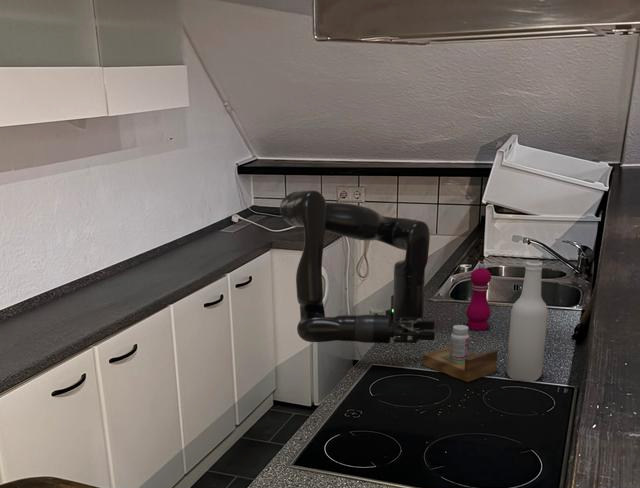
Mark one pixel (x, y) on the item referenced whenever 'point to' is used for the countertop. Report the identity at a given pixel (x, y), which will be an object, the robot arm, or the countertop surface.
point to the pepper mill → (479, 300)
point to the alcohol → (528, 328)
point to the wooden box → (462, 364)
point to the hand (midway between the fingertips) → (434, 330)
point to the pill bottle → (459, 342)
